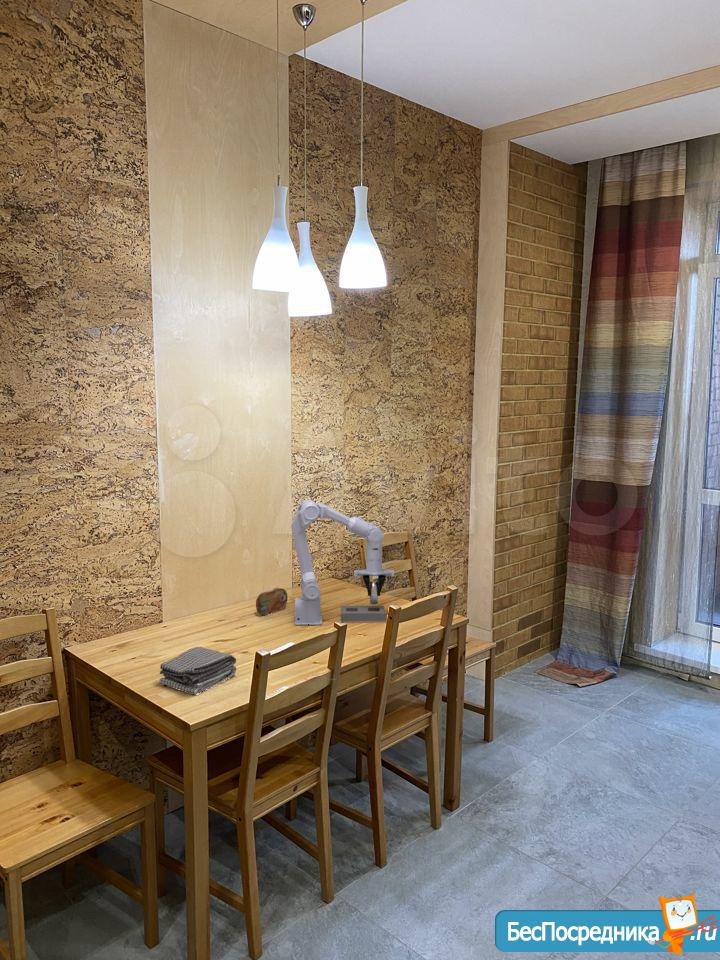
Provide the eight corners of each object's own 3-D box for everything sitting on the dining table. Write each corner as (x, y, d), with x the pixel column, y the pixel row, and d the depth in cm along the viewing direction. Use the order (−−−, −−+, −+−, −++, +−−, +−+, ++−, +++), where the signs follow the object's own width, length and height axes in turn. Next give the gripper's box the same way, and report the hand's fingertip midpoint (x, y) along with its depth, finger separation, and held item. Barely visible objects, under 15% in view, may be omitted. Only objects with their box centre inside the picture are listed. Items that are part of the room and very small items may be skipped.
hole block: (341, 622, 272) (341, 613, 272) (340, 614, 281) (340, 605, 280) (385, 622, 273) (385, 613, 272) (383, 614, 281) (383, 605, 281)
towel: (238, 676, 225) (238, 651, 224) (193, 698, 210) (193, 671, 208) (201, 665, 233) (201, 640, 232) (156, 685, 218) (155, 659, 217)
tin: (260, 617, 278) (260, 595, 276) (254, 616, 279) (254, 594, 278) (288, 607, 289) (288, 586, 288) (282, 606, 291) (282, 585, 290)
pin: (369, 604, 274) (369, 582, 273) (369, 601, 277) (369, 580, 276) (378, 604, 274) (378, 583, 273) (378, 601, 277) (378, 580, 276)
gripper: (354, 561, 269) (354, 598, 271) (395, 561, 270) (394, 598, 272) (353, 557, 276) (353, 592, 278) (393, 556, 277) (393, 592, 279)
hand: (373, 595), depth 276 cm, fingers closed on pin, 3 cm apart
